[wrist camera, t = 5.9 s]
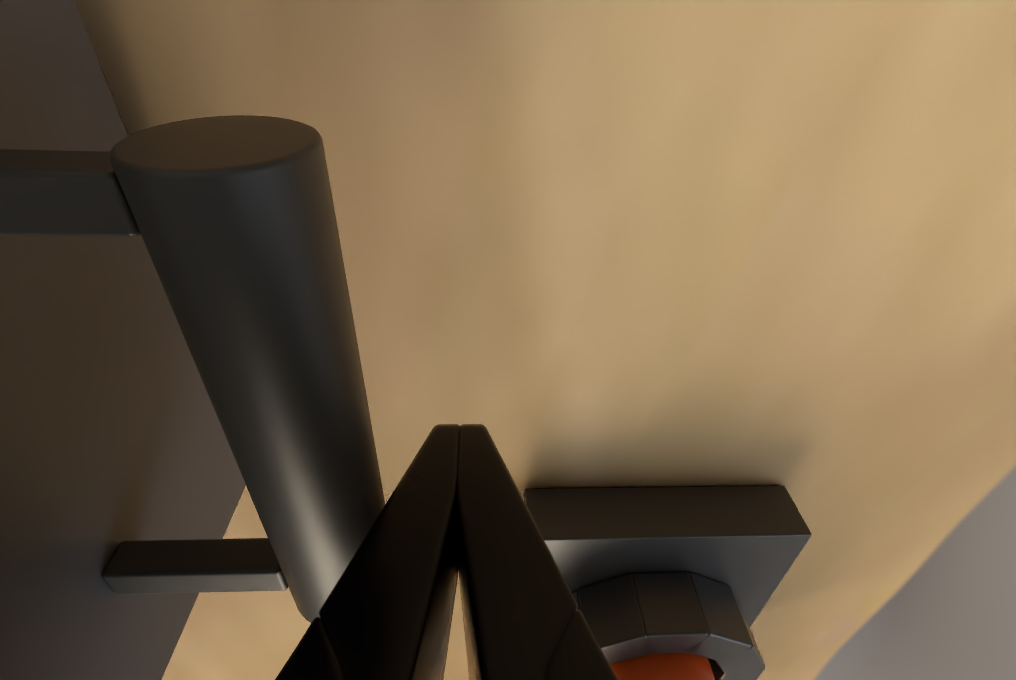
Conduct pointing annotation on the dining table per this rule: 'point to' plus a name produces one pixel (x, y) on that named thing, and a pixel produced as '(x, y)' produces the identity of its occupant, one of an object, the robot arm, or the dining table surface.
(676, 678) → the button
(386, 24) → the dining table surface
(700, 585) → the panel
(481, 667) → the robot arm
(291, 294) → the drawer
